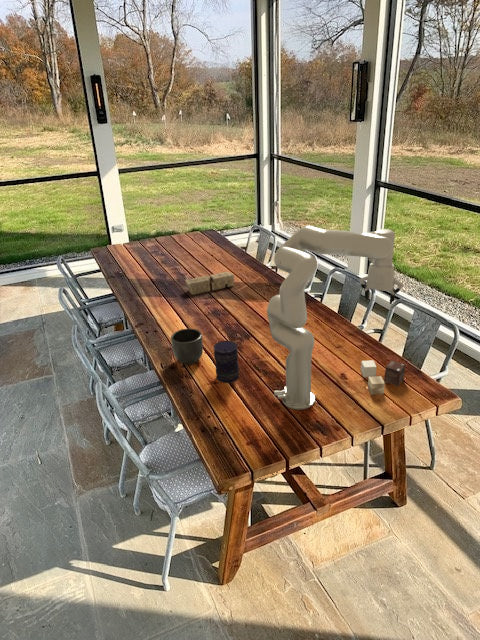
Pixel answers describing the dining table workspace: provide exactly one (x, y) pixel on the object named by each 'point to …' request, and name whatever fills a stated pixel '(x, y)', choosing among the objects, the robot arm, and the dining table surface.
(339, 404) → the dining table surface
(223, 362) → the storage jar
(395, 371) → the box
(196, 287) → the tan double block
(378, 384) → the birch block
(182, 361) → the planter
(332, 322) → the dining table surface
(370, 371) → the grey block
